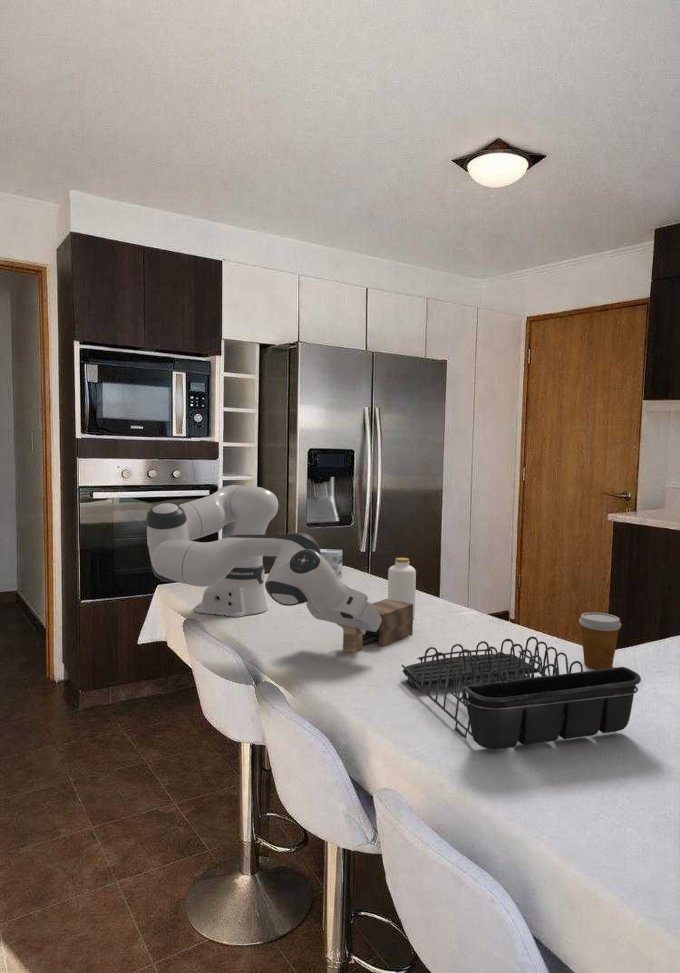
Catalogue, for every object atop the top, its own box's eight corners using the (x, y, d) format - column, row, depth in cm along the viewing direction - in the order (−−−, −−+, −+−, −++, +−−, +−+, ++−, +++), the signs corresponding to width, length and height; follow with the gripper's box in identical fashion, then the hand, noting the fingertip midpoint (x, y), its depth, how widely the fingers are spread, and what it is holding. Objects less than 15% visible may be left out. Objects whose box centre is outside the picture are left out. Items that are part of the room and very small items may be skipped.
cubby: (382, 646, 174) (383, 614, 173) (354, 640, 179) (355, 608, 179) (412, 634, 186) (413, 603, 185) (385, 628, 191) (386, 598, 191)
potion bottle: (414, 614, 207) (415, 556, 206) (415, 621, 199) (416, 561, 198) (387, 613, 208) (388, 555, 207) (387, 620, 200) (388, 560, 198)
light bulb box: (342, 576, 263) (343, 549, 262) (338, 580, 256) (338, 552, 256) (316, 575, 265) (316, 548, 265) (311, 578, 259) (312, 550, 258)
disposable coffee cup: (618, 662, 164) (620, 614, 164) (620, 674, 155) (622, 624, 155) (577, 657, 168) (578, 610, 167) (577, 669, 159) (579, 620, 158)
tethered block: (356, 653, 168) (356, 618, 168) (340, 649, 171) (341, 614, 171) (401, 634, 185) (402, 602, 184) (386, 631, 188) (387, 599, 188)
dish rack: (479, 767, 111) (481, 696, 110) (387, 676, 153) (388, 624, 152) (649, 744, 120) (652, 678, 120) (517, 664, 163) (519, 615, 162)
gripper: (294, 603, 168) (318, 632, 176) (360, 617, 156) (383, 648, 164) (306, 582, 171) (329, 612, 180) (371, 595, 159) (393, 626, 167)
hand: (355, 630), depth 172 cm, fingers closed on tethered block, 3 cm apart
